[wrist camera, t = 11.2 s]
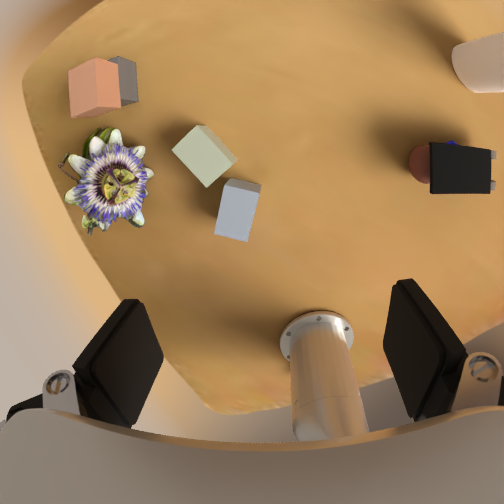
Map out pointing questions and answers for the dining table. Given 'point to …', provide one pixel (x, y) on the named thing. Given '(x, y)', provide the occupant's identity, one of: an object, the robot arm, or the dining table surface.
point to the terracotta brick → (94, 88)
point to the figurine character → (453, 168)
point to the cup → (481, 63)
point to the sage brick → (204, 154)
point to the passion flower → (108, 180)
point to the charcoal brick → (126, 80)
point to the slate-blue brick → (237, 209)
